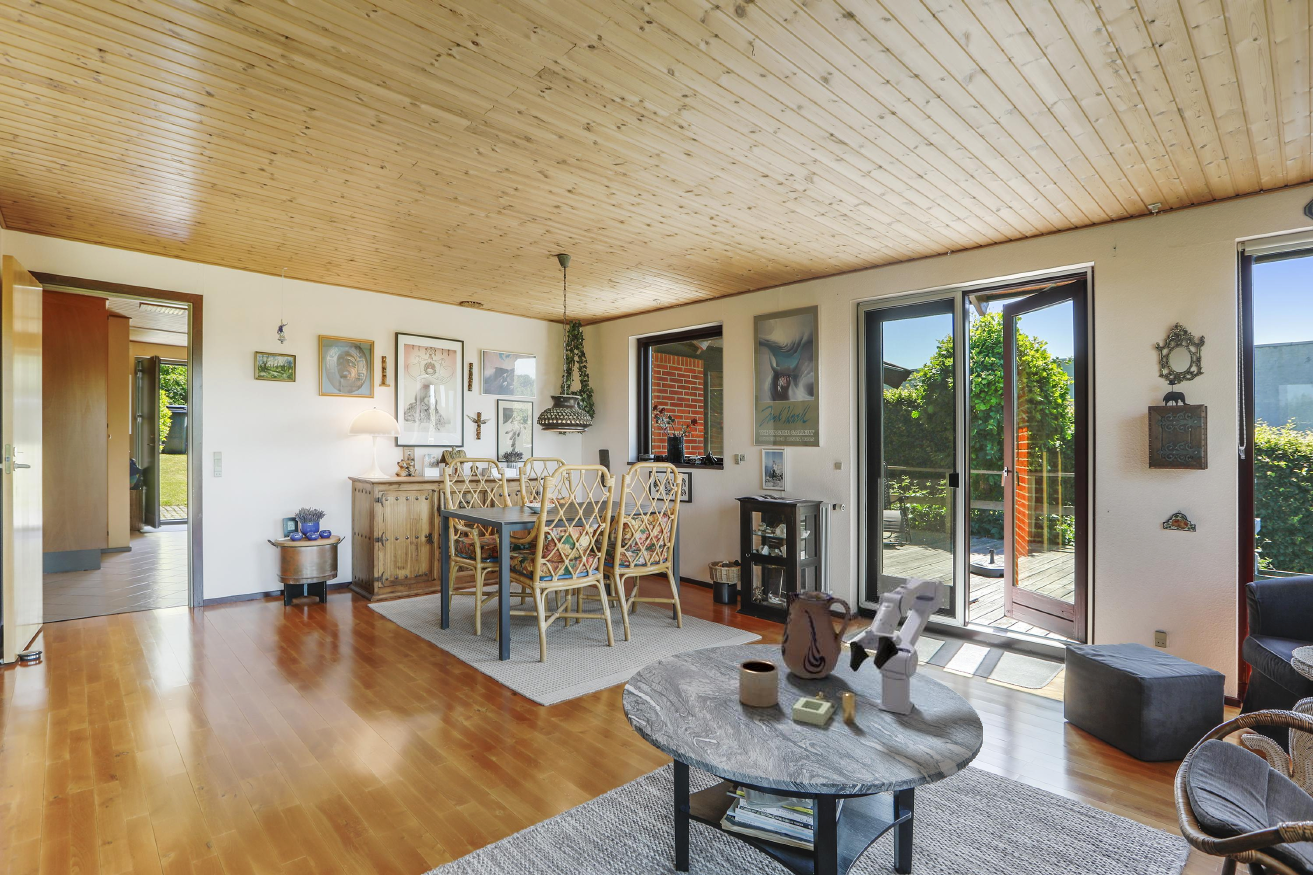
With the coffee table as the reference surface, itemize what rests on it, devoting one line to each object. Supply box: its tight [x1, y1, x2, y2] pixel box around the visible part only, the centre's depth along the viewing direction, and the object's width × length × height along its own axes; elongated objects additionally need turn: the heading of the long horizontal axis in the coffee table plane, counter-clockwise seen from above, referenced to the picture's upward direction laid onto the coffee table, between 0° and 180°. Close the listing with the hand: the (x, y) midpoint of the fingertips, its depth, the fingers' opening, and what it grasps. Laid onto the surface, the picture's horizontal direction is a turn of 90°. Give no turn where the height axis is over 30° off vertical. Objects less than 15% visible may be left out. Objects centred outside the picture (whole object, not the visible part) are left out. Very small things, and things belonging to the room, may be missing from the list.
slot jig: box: [792, 691, 838, 727], centre depth 170 cm, size 14×8×3 cm, turn 151°
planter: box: [738, 659, 779, 709], centre depth 179 cm, size 11×11×10 cm
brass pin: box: [842, 691, 856, 725], centre depth 165 cm, size 3×3×7 cm
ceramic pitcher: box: [780, 590, 852, 680], centre depth 200 cm, size 18×21×25 cm
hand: (864, 667), depth 159 cm, fingers open, 7 cm apart
